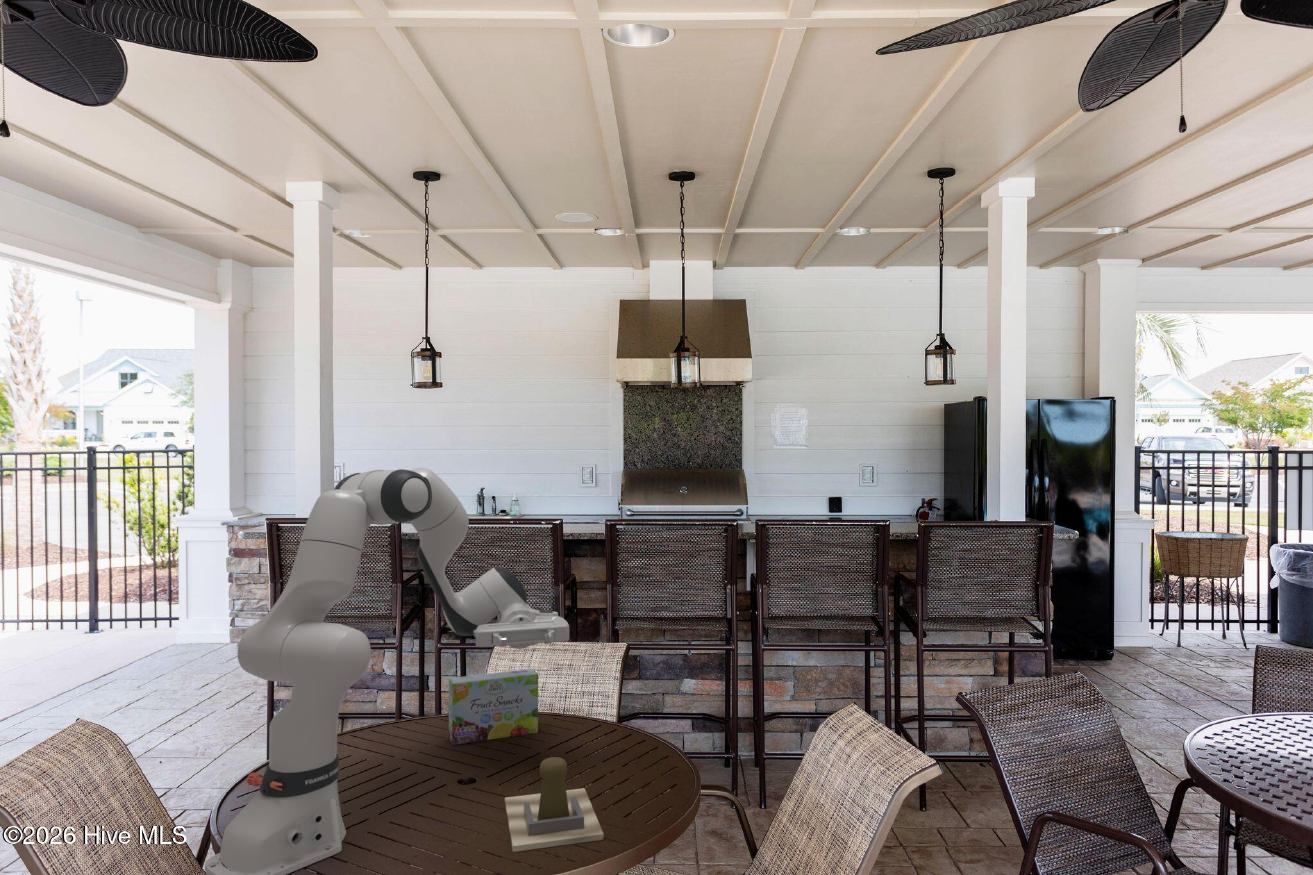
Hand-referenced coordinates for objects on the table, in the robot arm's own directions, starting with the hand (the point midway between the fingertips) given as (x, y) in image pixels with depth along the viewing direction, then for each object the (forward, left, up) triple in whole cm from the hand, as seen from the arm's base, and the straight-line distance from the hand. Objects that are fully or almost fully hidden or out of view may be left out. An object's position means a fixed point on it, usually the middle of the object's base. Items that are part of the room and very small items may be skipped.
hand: (525, 641), depth 161 cm
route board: (-10, -14, -30) cm, 34 cm away
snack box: (+20, +26, -30) cm, 44 cm away
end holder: (-12, -16, -29) cm, 35 cm away
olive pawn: (-11, -15, -29) cm, 35 cm away
